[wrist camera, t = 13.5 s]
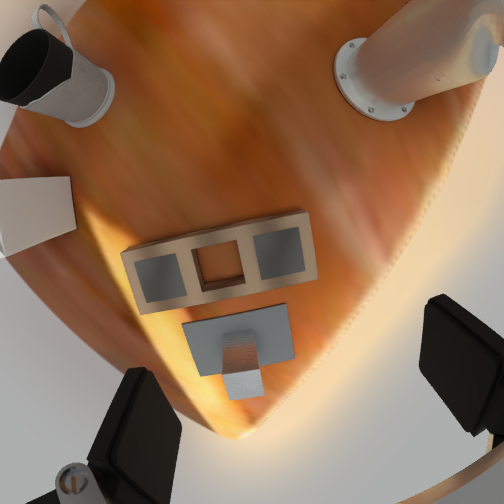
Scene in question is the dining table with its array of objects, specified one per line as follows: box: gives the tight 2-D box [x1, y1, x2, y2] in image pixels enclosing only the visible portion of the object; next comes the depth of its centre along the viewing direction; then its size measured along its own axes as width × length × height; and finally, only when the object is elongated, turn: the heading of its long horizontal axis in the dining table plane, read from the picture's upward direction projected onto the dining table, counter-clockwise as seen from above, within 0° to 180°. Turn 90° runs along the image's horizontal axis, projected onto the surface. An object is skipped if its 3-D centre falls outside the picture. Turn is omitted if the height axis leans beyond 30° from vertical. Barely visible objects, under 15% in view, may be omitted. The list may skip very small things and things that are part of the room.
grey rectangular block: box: [222, 329, 264, 400], centre depth 33 cm, size 4×4×9 cm
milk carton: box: [0, 176, 77, 258], centre depth 22 cm, size 7×7×19 cm
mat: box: [182, 303, 295, 377], centre depth 38 cm, size 14×9×1 cm, turn 101°
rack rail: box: [120, 210, 318, 315], centre depth 33 cm, size 22×8×3 cm, turn 101°
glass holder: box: [0, 4, 115, 128], centre depth 21 cm, size 9×14×15 cm, turn 10°
